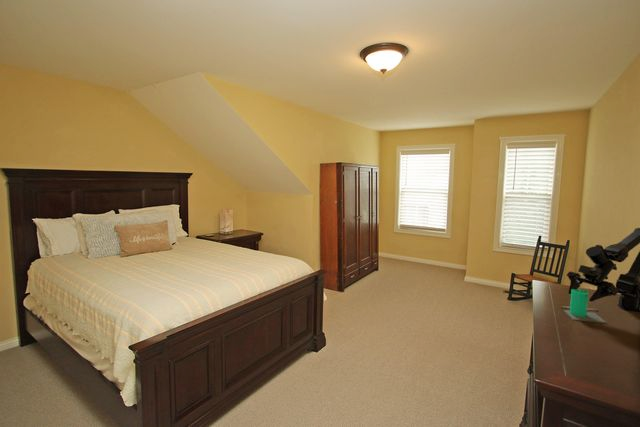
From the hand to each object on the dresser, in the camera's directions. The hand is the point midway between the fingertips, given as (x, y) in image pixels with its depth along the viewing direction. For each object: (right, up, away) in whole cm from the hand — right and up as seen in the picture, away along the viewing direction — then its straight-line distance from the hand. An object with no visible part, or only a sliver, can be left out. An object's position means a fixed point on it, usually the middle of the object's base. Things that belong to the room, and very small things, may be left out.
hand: (579, 297), depth 146 cm
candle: (+1, -8, +2) cm, 8 cm away
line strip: (+7, -8, +8) cm, 13 cm away
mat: (+2, -9, 0) cm, 9 cm away
